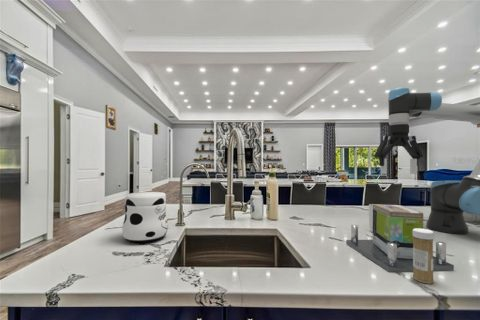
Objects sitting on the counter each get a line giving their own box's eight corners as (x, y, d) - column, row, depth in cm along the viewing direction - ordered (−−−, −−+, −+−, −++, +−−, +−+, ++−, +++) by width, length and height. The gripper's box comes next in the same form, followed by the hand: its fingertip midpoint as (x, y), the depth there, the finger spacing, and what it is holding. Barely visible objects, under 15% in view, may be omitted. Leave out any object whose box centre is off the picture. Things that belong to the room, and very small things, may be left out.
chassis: (395, 242, 95) (395, 223, 95) (453, 270, 71) (453, 244, 71) (346, 243, 94) (346, 224, 94) (388, 272, 70) (388, 246, 70)
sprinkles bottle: (438, 283, 63) (438, 231, 64) (424, 285, 62) (424, 232, 63) (421, 275, 68) (421, 227, 68) (408, 276, 67) (408, 228, 67)
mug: (374, 234, 107) (374, 206, 107) (365, 229, 113) (365, 204, 113) (396, 233, 107) (396, 206, 107) (386, 229, 114) (386, 204, 114)
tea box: (424, 260, 74) (424, 212, 74) (389, 258, 76) (389, 211, 76) (400, 244, 89) (401, 204, 89) (371, 242, 91) (371, 203, 91)
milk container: (176, 238, 99) (176, 194, 100) (133, 249, 87) (134, 198, 87) (155, 229, 111) (155, 190, 111) (115, 238, 99) (115, 194, 99)
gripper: (418, 126, 110) (418, 173, 109) (365, 125, 108) (365, 173, 108) (433, 123, 102) (433, 174, 102) (376, 122, 100) (376, 174, 100)
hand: (398, 173), depth 105 cm, fingers open, 13 cm apart
